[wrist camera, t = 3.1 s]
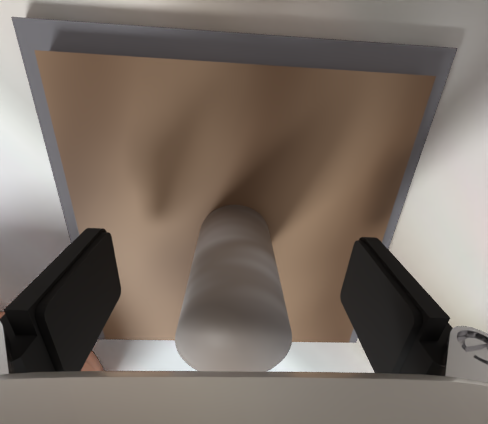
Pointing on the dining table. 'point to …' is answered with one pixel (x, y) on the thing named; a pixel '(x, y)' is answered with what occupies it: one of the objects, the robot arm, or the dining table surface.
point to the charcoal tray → (229, 51)
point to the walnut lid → (230, 192)
